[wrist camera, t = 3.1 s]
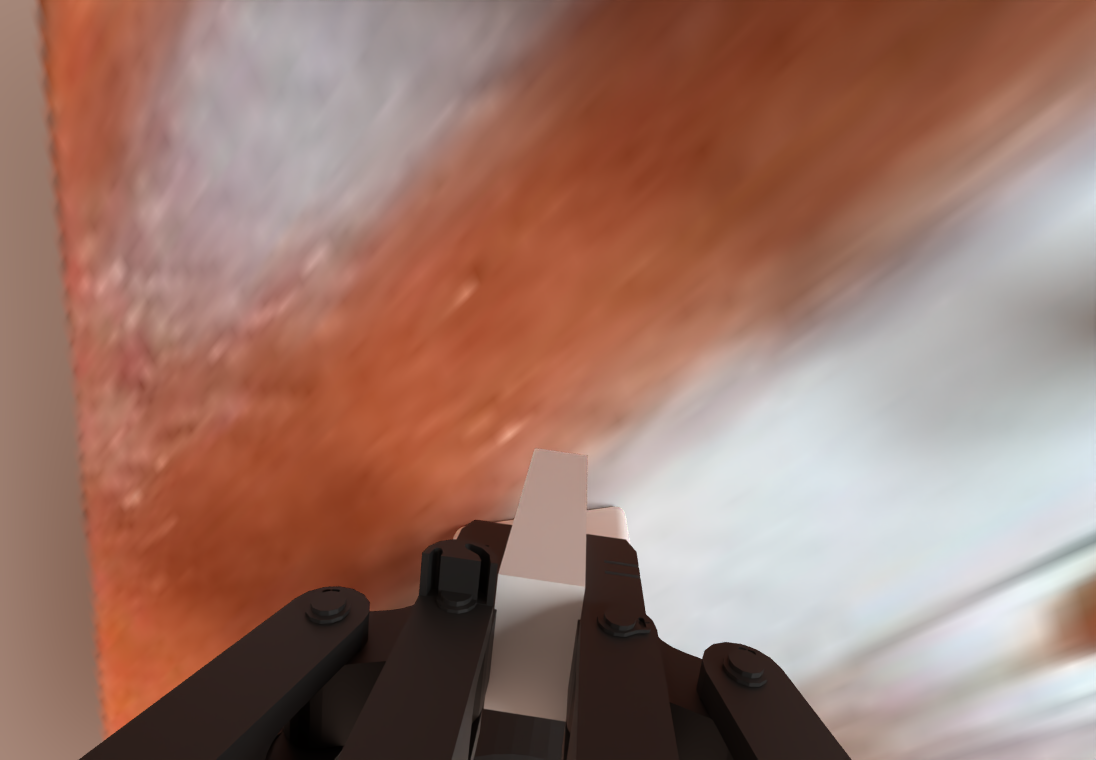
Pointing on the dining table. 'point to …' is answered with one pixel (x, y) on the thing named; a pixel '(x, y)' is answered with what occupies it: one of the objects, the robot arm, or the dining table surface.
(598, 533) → the container
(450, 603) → the robot arm
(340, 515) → the dining table surface
